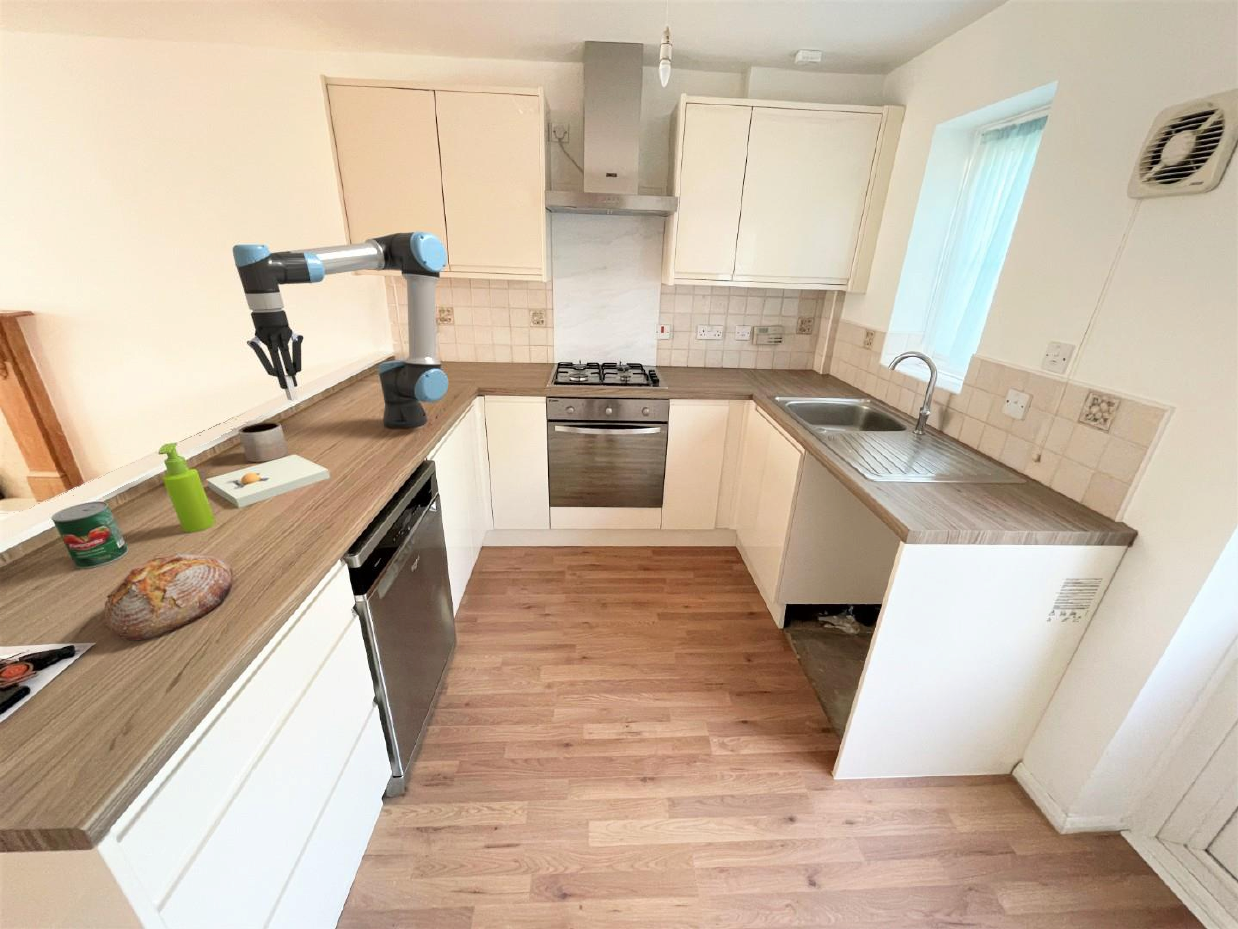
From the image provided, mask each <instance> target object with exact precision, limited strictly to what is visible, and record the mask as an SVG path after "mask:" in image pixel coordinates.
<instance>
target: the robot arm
mask: <svg viewBox="0 0 1238 929" xmlns="http://www.w3.org/2000/svg"><path fill="white" fill-rule="evenodd" d="M444 245H445V244H443V242H441V240H440V239H439V238H438V236H436V235H435V234H433V233H430V232H424V231H415V232H414V231H413V232H396V233H392V234H387V235H384V236H379V237H374V238H367V239H366V240H365V241H364V242H362V243H351V244H341V245H333V246H324V247H322V246H321V247H314V248H303V249H295V250H294V249H293V250H287V251H278V252H271V251H270V249H269V247H268V246H267V245H266V244H236V245H233V247H232V253H233V254H232V255H233V259H234V263H235V264H234V265H235V267H236V269H237V273H238V275H239V276H238V277H239V279H240V281H241V285H242V288H243V291H244V292H243V293H244V296H245V300H246V303H247V306H248V309H249V310H250V311H251V312H250V316H251V320H252V324H253V326H254V330H255V332H254V337H253V338H252V339H250V340H247V341H246V344H247V345H248V346H249V347H250V348H251V349H252V350H253V352H254V353H255V354H256V356H257V358H258V360H259V362H260V363H261V365H262V367H263V368H264V369H265V372H266V373H267V375H269V376H271V377H277V381H278V384H279V387H280V389H282V390H284V392H285V395H286V398H287V400H288V401H291V402H293V401H298V400H299V398H298V395H297V391H296V388H297V387H298V382H297V378H296V376H297V374H298V373H301V372H302V343H303V341H304V336H303V335H302V334H297V333H295V332H294V331H293V330H292V329H291V327H290V325H289V320H288V316H287V313H286V311H285V310H284V308H285V304H284V301H283V297H282V295H281V294H282V293H281V291H280V286H281V285H282V286H283V285H295V284H296V285H297V284H298V285H299V284H310V285H311V284H315V283H321V282H322V281H323V280H324V278H325V276H329V275H337V274H342V273H350V272H356V271H363V270H370V269H373V270H374V271H378V272H379V271H389V270H390V271H391V270H392V271H401V276H402V278H403V279H405V281H406V293H407V294H406V295H407V322H408V323H407V324H408V325H407V326H408V328H407V329H408V331H407V332H408V333H407V334H408V357H407V358H406V359H405V358H404V359H397V360H396V359H395V360H391V361H385V362H381V363H379V365H378V367H377V368H378V376H379V380H380V384H381V385H380V386H381V390H382V396H383V400H384V408H383V409H384V411H383V415H382V416H383V417H382V422H383V426H384V427H385V428H386V429H390V430H406V429H413V428H417V427H420V426H423V425H425V424H426V423H427V422H428V415H427V413H426V411H425V409H424V406H422V404H421V402H422V403H435V402H438V401H440V400H441V399H442V398H443V397H444V396H445V395H446V394H447V392H448V388H449V379H448V376H447V375H446V373H445V371H443V370H442V362H441V361H440V360H439V359H438V358H437V335H436V334H437V331H436V330H437V329H436V326H437V325H436V324H437V322H436V321H437V320H436V284H437V283H438V282H439V281H440V279H441V278H440V276H441V271H442V270H444V268H445V267H446V265H447V262H448V254H447V251H446V248H445V246H444ZM290 341H292V343H291V351H292V352H291V353H290V347H289V343H290ZM261 343H262V344H263V345H265V346H266V348H267V351H268V353H269V355H270V359H271V361H270V360H269V357H268V356H267V354H266V353H265V351H264V349H263V348H262V345H261ZM279 351H280V354H279ZM291 354H292V356H291ZM271 362H272V363H271ZM282 362H283V363H282ZM284 369H285V371H284ZM285 373H286V374H285ZM424 423H425V424H424Z"/></svg>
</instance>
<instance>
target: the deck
mask: <svg viewBox="0 0 1238 929" xmlns="http://www.w3.org/2000/svg"><path fill="white" fill-rule="evenodd" d="M248 473H254V474H257V475H258V476H259V478H260V480H259V481H258V482H254V483H251V484H248V485H243V484H242V481H241V480H242V477H243V476H244V475H245V474H248ZM330 478H331V475H330V471H329V469H328V468H325V467H323V466H322V465H320V464H317V463H314V462H312V461H310V460H308V459H305V458H304V457H302V456H299V455H297V454H294V453H293V454H291V455H287V456H284V457H282V458H280V459H276V460H273V461H269V462H261V463H260V464H259V463H258V464H256V465H252V466H248V467H246V468H241V469H238V470H234V471H230V472H227V473H224V474H220V475H217V476H213V477H210V478H206V479H205V480H206V482H207V485H208V488H209V489H210V490H212V491H213V492H215V493H216V494H218V495H219V496H221V497H222V498H223V499H225V500H227V501H228V502H230V503H231V504H233V505H234V506H236V507H237V508H239V509H241V508H244V507H247V506H249V505H252V504H255V503H259V502H261V501H265V500H268V499H271V498H273V497H276V496H279V495H283V494H285V493H289V492H292V491H296V490H298V489H300V488H304V487H307V486H309V485H313V484H317V483H318V482H322V481H325V480H328V479H330Z"/></svg>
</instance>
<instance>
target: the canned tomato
mask: <svg viewBox="0 0 1238 929" xmlns="http://www.w3.org/2000/svg"><path fill="white" fill-rule="evenodd" d="M50 518H51V520H52V522H53V524H54V526H55V528H56V529H57V532H58V533H59V535H60V538H61V540H62V542H63V543H64V545H65V547H66V549H67V552H68V554H69V555H70V556H71V558H70V559H72V561H73V562H74V566H75V567H76V568H77V569H84V570H86V569H94V568H98V567H102V566H105V565H108V564H111V563H113V562H116V561H119V560H120V559H122V558H123V557H125V556H126V555H127V554H128V552H129V548H128V547H127V544H126V541H125V540H124V537H123V535H122V533H121V531H120V528H119V527H118V524H117V522H116V519H115V518H114V515H113V513H112V511H111V508H110V507H109V504H108V502H106V501H90V502H85V503H80V504H75V505H72V506H69V507H66V508H64V509H62V510H61V509H60V510H59V511H57V512H55V513H54V514H52V516H51V517H50Z"/></svg>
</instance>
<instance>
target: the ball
mask: <svg viewBox="0 0 1238 929" xmlns="http://www.w3.org/2000/svg"><path fill="white" fill-rule="evenodd" d="M259 480H260V478H259V476H258V475H257V474H254V473H248V474H245V475H244V476H243V477H242V480H241V481H242V484H243V485H248V484H251V483H254V482H258V481H259Z"/></svg>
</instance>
